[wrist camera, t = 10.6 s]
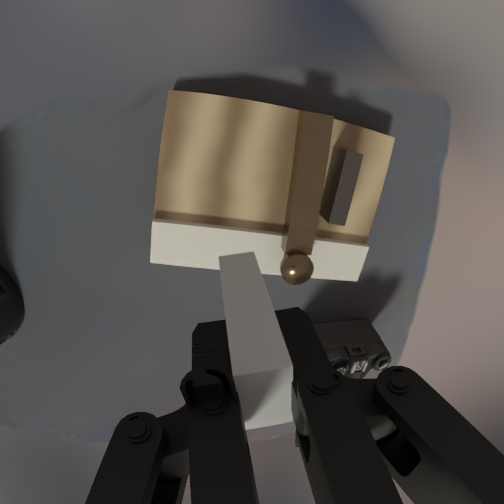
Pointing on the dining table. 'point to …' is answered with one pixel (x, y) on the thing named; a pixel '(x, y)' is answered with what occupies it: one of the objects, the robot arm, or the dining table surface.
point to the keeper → (340, 185)
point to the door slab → (253, 165)
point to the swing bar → (305, 195)
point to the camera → (353, 347)
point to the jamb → (248, 249)
